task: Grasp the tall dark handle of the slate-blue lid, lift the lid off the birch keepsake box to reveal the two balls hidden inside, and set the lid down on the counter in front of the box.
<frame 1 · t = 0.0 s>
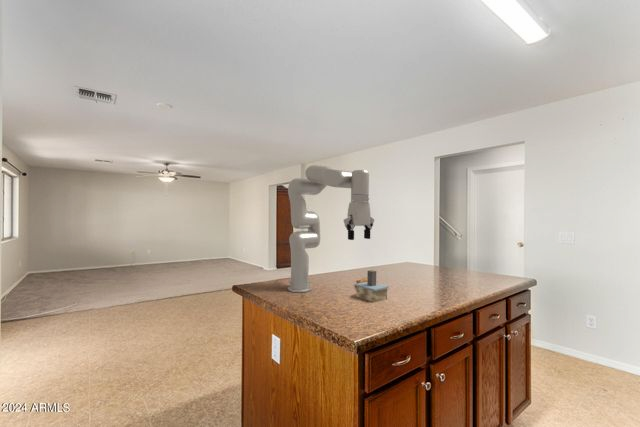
hand: (359, 239, 137), 31 cm above the table, fingers open, 9 cm apart
box: (371, 299, 157), on the table
lid: (371, 286, 157), point 6 cm above the table, touching box
croissant: (366, 290, 175), on the table
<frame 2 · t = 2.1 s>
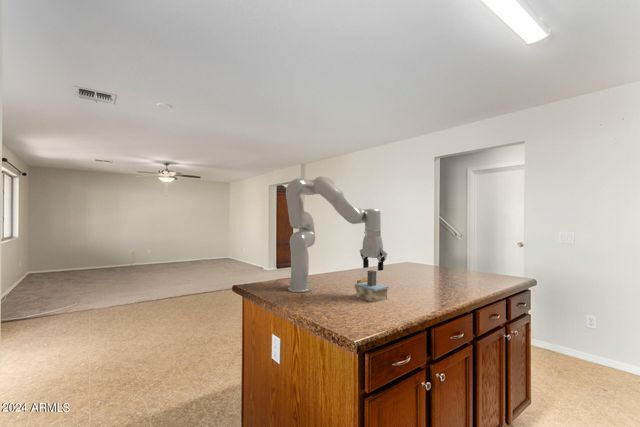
hand: (373, 268, 157), 15 cm above the table, fingers open, 9 cm apart
nothing on the table moved.
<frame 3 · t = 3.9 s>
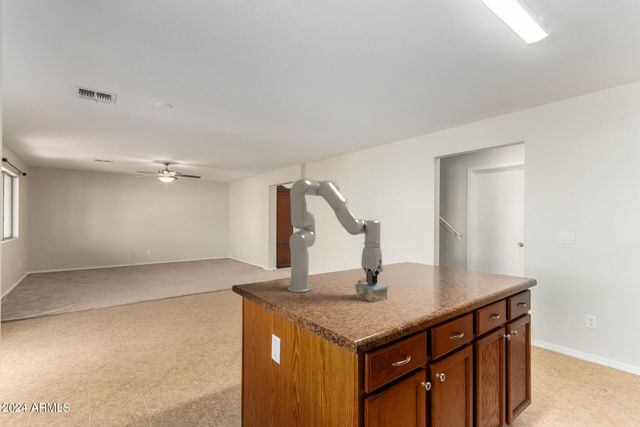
hand: (371, 282, 157), 8 cm above the table, fingers closed on lid, 3 cm apart
lid: (371, 286, 157), point 6 cm above the table, touching box, gripper
everything else where it was.
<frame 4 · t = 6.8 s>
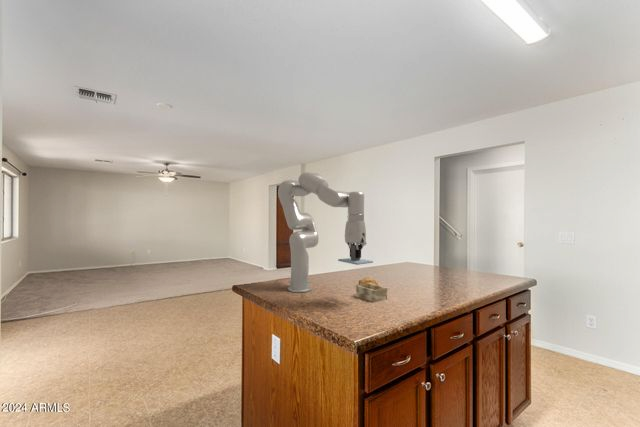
hand: (355, 257, 150), 22 cm above the table, fingers closed on lid, 3 cm apart
lid: (355, 261, 150), point 19 cm above the table, touching gripper
everything else where it was.
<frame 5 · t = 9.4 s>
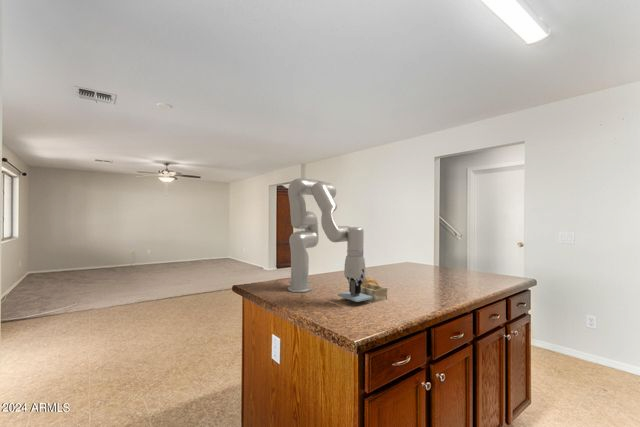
hand: (355, 292, 150), 5 cm above the table, fingers closed on lid, 3 cm apart
lid: (354, 297, 150), point 3 cm above the table, touching gripper
everything else where it was.
when the fingers open (3 cm above the table, at t = 10.6 s): lid drops 2 cm, on the table.
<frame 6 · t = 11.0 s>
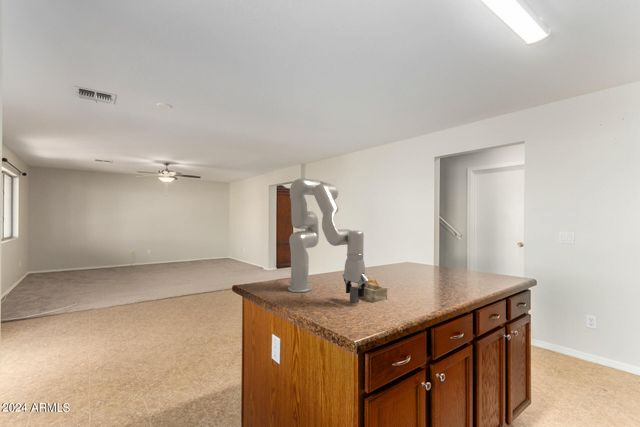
hand: (354, 294, 150), 4 cm above the table, fingers open, 7 cm apart
lid: (354, 303, 150), on the table
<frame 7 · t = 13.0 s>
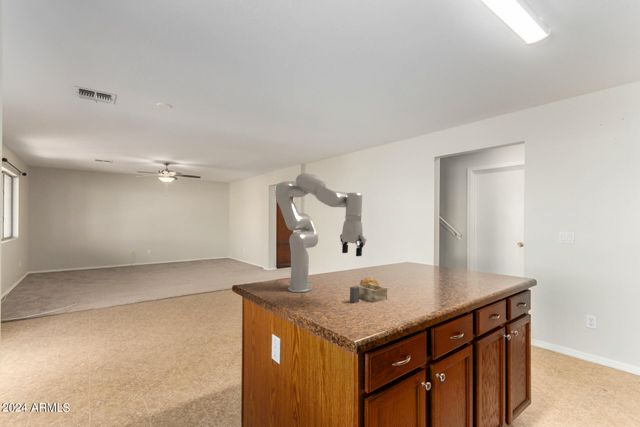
hand: (351, 254, 152), 22 cm above the table, fingers open, 9 cm apart
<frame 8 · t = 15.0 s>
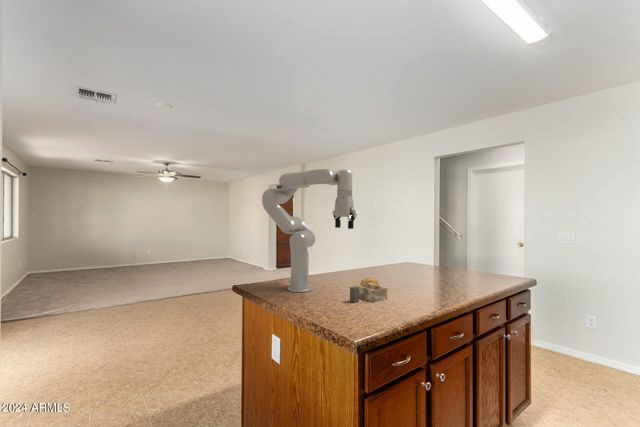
hand: (344, 228, 162), 34 cm above the table, fingers open, 9 cm apart
at the end: lid inside the target area (0.3 cm from its centre), on the table; lid tilted 0°; the gripper is holding nothing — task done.
